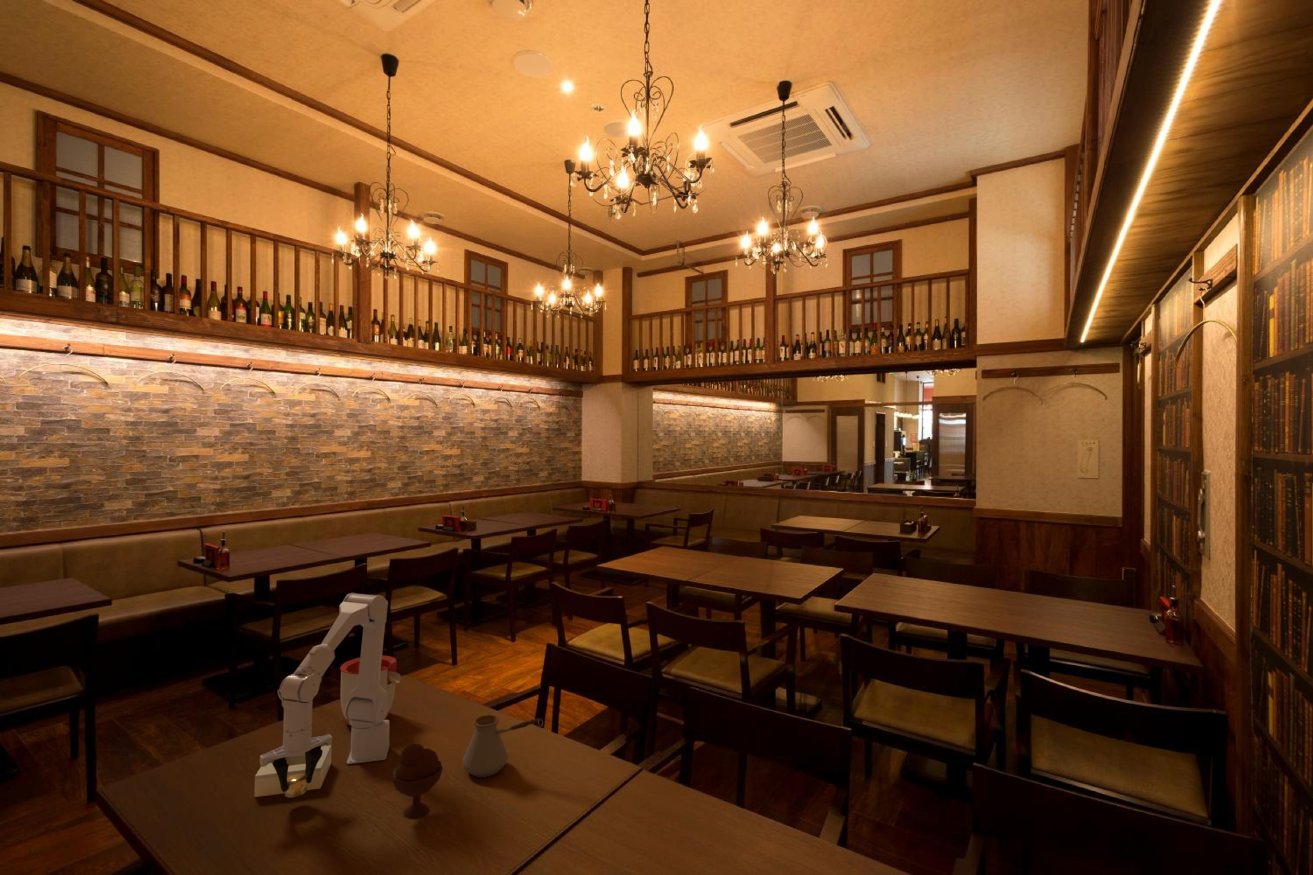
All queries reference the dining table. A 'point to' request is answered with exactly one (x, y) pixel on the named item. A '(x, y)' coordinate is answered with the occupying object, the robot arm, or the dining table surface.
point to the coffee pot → (488, 746)
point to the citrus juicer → (386, 680)
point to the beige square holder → (292, 773)
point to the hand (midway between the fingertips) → (296, 785)
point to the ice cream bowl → (416, 776)
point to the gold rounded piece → (296, 785)
